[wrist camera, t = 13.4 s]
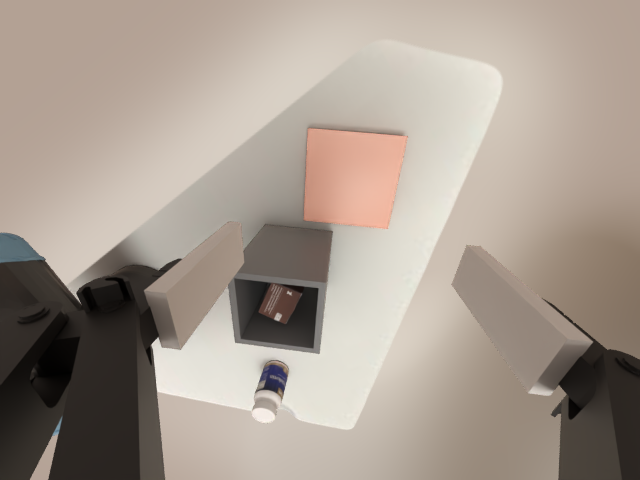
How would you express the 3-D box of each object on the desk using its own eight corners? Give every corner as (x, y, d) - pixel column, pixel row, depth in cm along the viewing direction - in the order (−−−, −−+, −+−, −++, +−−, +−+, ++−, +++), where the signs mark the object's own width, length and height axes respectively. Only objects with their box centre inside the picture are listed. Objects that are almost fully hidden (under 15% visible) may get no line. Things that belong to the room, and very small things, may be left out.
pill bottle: (294, 369, 53) (283, 417, 44) (279, 379, 56) (266, 428, 47) (274, 356, 52) (259, 403, 43) (259, 367, 54) (242, 414, 45)
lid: (305, 215, 37) (303, 220, 35) (310, 128, 32) (307, 128, 30) (385, 223, 37) (387, 228, 35) (403, 135, 31) (407, 136, 29)
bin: (267, 280, 43) (235, 342, 31) (265, 224, 38) (226, 271, 26) (326, 287, 43) (319, 353, 30) (332, 231, 38) (326, 283, 25)
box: (292, 238, 39) (271, 280, 28) (316, 249, 40) (305, 294, 29) (279, 265, 42) (256, 313, 31) (302, 275, 42) (288, 326, 31)
